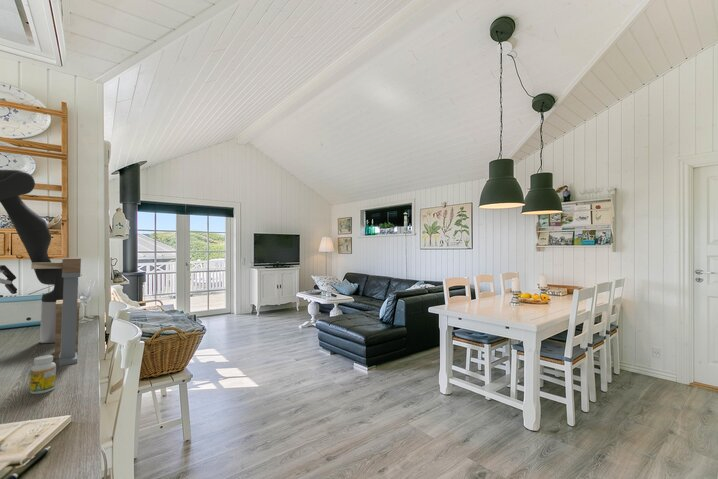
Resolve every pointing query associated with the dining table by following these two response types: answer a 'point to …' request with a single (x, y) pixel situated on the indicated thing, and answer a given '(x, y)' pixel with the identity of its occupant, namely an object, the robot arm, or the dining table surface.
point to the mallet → (61, 265)
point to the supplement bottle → (43, 375)
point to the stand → (69, 319)
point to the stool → (59, 326)
